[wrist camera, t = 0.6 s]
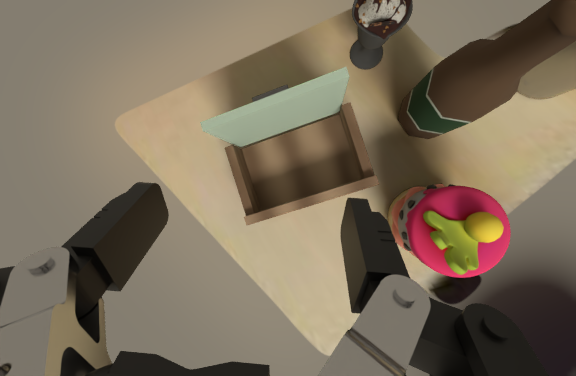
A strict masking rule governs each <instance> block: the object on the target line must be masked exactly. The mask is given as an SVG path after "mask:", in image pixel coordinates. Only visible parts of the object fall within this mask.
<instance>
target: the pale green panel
mask: <svg viewBox="0 0 576 376" xmlns="http://www.w3.org/2000/svg"><path fill="white" fill-rule="evenodd" d="M348 79H349V74H348V71H347V68H346V67H344V68H341V69H339V70H336V71H333V72H331V73H328V74H326V75H323V76H320V77H318V78H315V79H313V80H310V81H307V82H305V83H302V84H299V85H297V86H294V87H292V88H288V85H284V86H282V87H279V88H277V89H274V90H271V91H269V92H266V93H264V94H261V95H258V96H256V97H253V98H252V100H253V102H252V103H250V104H247V105H244V106H242V107H239V108H237V109H234V110H231V111H229V112H226V113H223V114H221V115H218V116H216V117H213V118H210V119H208V120H205V121H203V122H200V123H201V126H202V129H203V131H204V132H206V133H208V134H210V135H213V136H215V137H217V138H220V139H222V140H224V141H226V142H229V143H231V144H233V145H235V146H238V147H243V146H246V145H248V144H251V143H254V142H257V141H260V140H262V139H265V138H268V137H271V136H274V135H276V134H279V133H282V132H285V131H288V130H290V129H293V128H296V127H299V126H302V125H304V124H307V123H310V122H313V121H315V120H318V119H321V118H324V117H327V116H329V115H332V114H335V113H338V112H340V109H341V105H342V102H343V98H344V94H345V91H346V87H347V83H348Z"/></svg>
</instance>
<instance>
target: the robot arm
mask: <svg viewBox="0 0 576 376" xmlns="http://www.w3.org/2000/svg"><path fill="white" fill-rule="evenodd" d="M574 89H576V41H575V42H574V43H572V44H571V45H569V46H567V47H566V48H564V49H563V50H561V51H559V52H558V53H556V54H555V55H553V56H551V57H550V58H548V59H547V60H545V61H543V62H542V63H540V64H538V65H537V66H535V67H534V68H532V69H531V70H530V71H529V72H527V73H526V74H525V75H524V76H522V77H521V79H520V83H519V86H518V90H517V91H518V92H519V93H521V94H522V95H524V96H526V97H530V98H534V99H547V98H552V97H555V96H558V95H560V94H563V93H566V92H568V91H571V90H574ZM167 221H168V209H167V206H166V203H165V200H164V197H163V194H162V191H161V188H160V186H159V185H158V184H156V183H143V182H138V183H136V184H134V185H133V186H132V187H131V188H130V189H129V190H128V191H127V192H126V193H124V194H122V195H120V196H118V197H116V198H115V199H113V200H111V201H110V202H109V203H108V204H107V205H106V206H105V207H103V208H102V211H99V212H98V213H97V214H96V215H95V216H94V218H92V219H91V220H90V221H89V222H87V224H85V225H84V226H83V227H82V228H81V229H80V230H79V231H78V232H77V233H76V234H75V235H73V236H72V237H71V238H70V239H69V240H68V241H67V242H66V243H65V244H64V245H63V246H62V247H52V248H47V249H43V250H41V251H38V252H36V253H34V254H32V255H30V256H28V257H26V258H25V259H23V260H22V261H21V262H19V263H18V264H17V265H16V266H14V267H7V268H1V269H0V376H270V375H269V365H261V364H251V363H241V362H228V363H223V364H218V365H213V366H208V367H204V368H199V369H193V370H190V369H186V368H184V367H182V366H180V365H178V364H176V363H174V362H172V361H169V360H167V359H165V358H163V357H161V356H159V355H156V354H147V353H137V352H126V351H120V353H119V355H118V356H117V358H116V360H115V362H114V363H113V364H112V362H111V359H110V357H109V355H108V352H107V347H106V330H105V311H104V300H103V299H102V295H103V294H104V292H105V291H106V290H110V291H121V290H122V288H123V287H124V285H125V284H126V282H127V281H128V279H129V278H130V277H131V275H132V274H133V272H134V271H135V269H136V268H137V266H138V265H139V263H140V262H141V260H142V259H143V258H144V256H145V255H146V253H147V252H148V250H149V249H150V247H151V246H152V244H153V243H154V242H155V240H156V239H157V237H158V236H159V234H160V233H161V231H162V230H163V228H164V227H165V225H166V224H167ZM341 243H342V250H343V257H344V264H345V271H346V278H347V284H348V291H349V298H350V305H351V312H352V313H360V316H359V317H358V319H357V320H356V322H355V323H354V325H353V326H352V328H351V329H350V330H348V331H347V332H346V333H345V335H344V336H343V338H342V339H341V341H340V342H339V344H338V345H337V347H336V348H335V350H334V351H333V353H332V354H331V356H330V358H329V359H328V361H327V362H326V364H325V365H324V367H323V368H322V370H321V371H320V373H319V375H318V376H406V375H405V374H406V370H407V367H408V364H409V365H411V366H413V367H415V368H417V369H419V370H422V371H424V372H426V373H428V374H430V376H548V374H547V372H546V371H545V369H544V367H543V366H542V364H541V363H540V361H539V359H538V358H537V356H536V354H535V353H534V351H533V350H532V348H531V346H530V345H529V343H528V342H527V340H526V338H525V337H524V335H523V334H522V332H521V331H520V329H519V328H518V327H517V326H516V324H515V323H514V322H512V320H511V319H509V318H508V317H507V316H506V315H504V314H503V313H501V312H500V311H498V310H497V309H495V308H492V307H490V306H487V305H483V304H471V305H468V306H467V307H466V308H465V309H464V310H460V309H457V308H455V307H452V306H449V305H447V304H444V303H441V302H438V301H436V300H434V299H432V298H430V297H428V295H427V293H426V292H425V290H424V289H423V288H422V287H421V286H420V285H419V284H418V283H417V282H415V281H414V280H412V279H410V277H409V274H408V272H407V269H406V267H405V264H404V261H403V259H402V256H401V254H400V251H399V249H398V246H397V243H395V238H394V236H393V234H392V231H391V228H390V225H389V223H388V221H387V220H386V219H385V218H384V217H383V216H382V215H381V214H380V212H371V209H370V206H369V203H368V200H367V199H359V198H348V199H347V202H346V207H345V211H344V216H343V220H342V225H341Z"/></svg>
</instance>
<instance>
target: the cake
mask: <svg viewBox="0 0 576 376" xmlns="http://www.w3.org/2000/svg"><path fill="white" fill-rule="evenodd" d="M387 217H388V223H389V225H390V228H391V231H392V234H393V236H394V238H395V241H396V243H398V244H399V245H400V246H401V247H402V248H404V249H405V250H407V251H409V252H410V253H411V254H412V255H414V256H415V257H417V258H418V259H419V260H420V261H421V262H422V263H424V264H425V265H427V266H428V267H430V268H431V269H433V270H434V271H436V272H438V273H441V274H443V275H447V276H451V277H472V276H476V275H479V274H482V273H484V272H486V271H488V270H489V269H491V268H492V267H493V266H495V265H496V264H497V263H498V262H499V261H500V260H501V259H502V257H503V256H504V254H505V252H506V250H507V248H508V245H509V242H510V224H509V221H508V218H507V215H506V213H505V211H504V210H503V208H502V207H501V205H500V204H499V203H498V202H497V201H496V200H495V199H494V198H492V197H491V196H490V195H488V194H486V193H485V192H483V191H480V190H478V189H475V188H471V187H465V186H455V185H451V184H450V185H449V186H448V187H445V186H444V185H443V184H435V185H430V186H427V187H413V188H410V189H408V190H406V191H403V192H402V193H401V194H399V195H398V196H397V197H396V198H395V199H394V201H393V202H392V204H391V205H390V207H389V212H388V216H387Z"/></svg>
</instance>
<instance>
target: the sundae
mask: <svg viewBox="0 0 576 376" xmlns="http://www.w3.org/2000/svg"><path fill="white" fill-rule="evenodd" d="M411 13H412V0H355V1H354V4H353V8H352V16H353V19H354V21H355V23H356V24H357V25H358V41H356V42H355V43H354V44H353V46H352V48H351V51H350V59H351V61H352V63H353V64H354V65H355V66H356V67H358V68H360V69H371V68H373V67H375V66H376V65H377V64H378V63H379V62H380V61H381V58H382V55H383V49H382V45H383V44H384V43H385V42H386V41H387V40H388V38H389V37H390V36H391V35H393V34H394V33H396V32H397V31H399V30H400V29H401V28H402V27H403V26H404V25H405V24H406V23H407V21H408V20H409V18H410V16H411Z"/></svg>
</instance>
